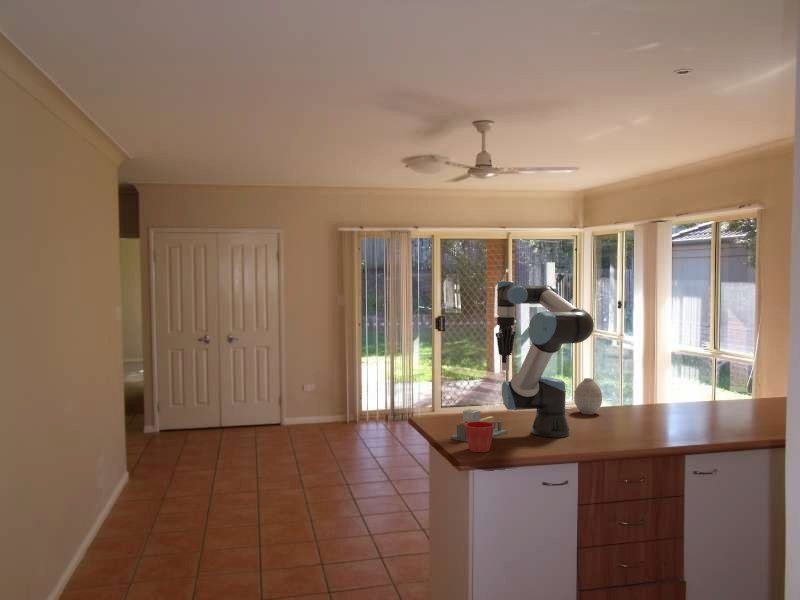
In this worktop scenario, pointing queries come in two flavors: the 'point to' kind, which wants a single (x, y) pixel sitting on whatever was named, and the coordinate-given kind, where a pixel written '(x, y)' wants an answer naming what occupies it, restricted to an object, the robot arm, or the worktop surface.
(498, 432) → the cable comb
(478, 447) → the flower pot
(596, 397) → the vase
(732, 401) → the worktop surface
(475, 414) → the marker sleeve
